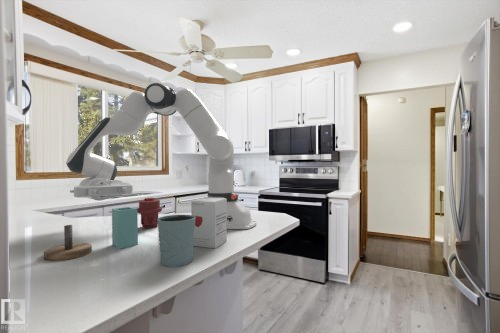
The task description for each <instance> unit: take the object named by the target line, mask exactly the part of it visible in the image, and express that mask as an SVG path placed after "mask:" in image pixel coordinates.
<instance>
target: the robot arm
mask: <svg viewBox="0 0 500 333" xmlns="http://www.w3.org/2000/svg"><path fill="white" fill-rule="evenodd" d="M176 112H177V113H179V115H180V116H181V117H182V119H183V120H184V122H186V124H187V126H188V127H189V128H190V129H191V131H192V133H193V134H194V136H195V137H196V138H197V139H198V141H199V143H200V145H201V146H202V147H203V148H204V150H205V152H206V153H207V155H208V156H209V159H208V160H209V163H208V164H209V165H208V174H207V176H208V178H207V179H208V180H207V181H208V182H207V183H208V192H207V198H226V199H227V230H248V229H253V228H254V227H255V226H257V220H255V219H253V218H252V214H251V211H250V209H249V208H248V207H247V206H246V205H244V204H243V203H241V201H239V193H236V192H235V191H234V189H235V188H234V183H235V182H234V169H235V168H234V165H235V164H234V158H235V157H234V154H235V153H234V145H233V142H232V140H231V139H230V138H229V135H227V133H226V132H225V130H224V129H222V127H221V126H220V124H219V122H218V121H217V120H216V118H215V117H214V115H212V113H211V112H210V110H209V109H208V108H207V106H206V105H205V104H204V102H203V101H202V100H201V99H200V97H198V96H197V93H196V92H194V91H192V89H189V88H183V89H180V90H179V91H177V92H176V91H175V89H174V88H172V87H169V86H167V85H166V84H162V83H160V82H153V83H150V84H148V85H147V86H146V88H145V89H144V92H141V91H133V92H131V93H130V94H129V95H128V96H127V98H125V100H124V102H123V103H122V104H121V106H120V107H119V109H118V111H116V113H115V114H113V115H112V116H110V117H104V118H103V119H101V120H100V121H99V122H98V124H97V125H96V126H95V127H94V128H93V129H92V130H91V131H90V133H88V135H87V136H86V137H85V138H84V139H83V140H82V141H81V143H80V144H79V145H78V146H77V147H76V148H75V149H74V150H73V151H72V152H71V153H70V154H69V155H68V157H67V159H66V161H65V164H66V166H67V168H68V170H69V171H70V172H71V173H75V174H79V175H84V176H87V177H86V178H84V179H82V180H81V181H80V183H79V184H78V186H73V189H70V190H69V192H70V193H71V194H73V197H75V198H88V199H91V200H94V201H104V200H107V199H111V198H115V197H121V196H123V195H133V193H134V185H133V184H132V183H128V182H123V180H120V179H119V180H116V176H117V174H118V166H117V164H116V162H115V161H114V160H111V159H109V158H107V157H104V156H101V155H99V154H95V153H93V152H92V150H93V148H94V147H95V146H96V145H97V144H98V142H99V141H100V140H101V139H102V138H103V137H105V136H107V135H108V136H109V135H118V136H131V135H134V134H136V133H138V132H139V131H140V130H141V128H143V125H144V123H145V121H146V120H147V118H148V116H150V114H151V113H153V114H156V115H161V116H166V117H167V116H172V115H174V114H175V113H176Z"/></svg>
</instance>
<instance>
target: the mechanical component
mask: <svg viewBox="0 0 500 333" xmlns="http://www.w3.org/2000/svg"><path fill="white" fill-rule="evenodd" d="M162 211H163V207H162V206H161V200H160V199H156V198H155V197H145V198H144V199H143V200H142V199H141V200H139V201H138V208H137V214H140V225H141V226H142V227H141V228H142V229H143V230H144V229H149V228H151V229H152V228H153V227H155V228H158V222H157V219H158V218H159V213H161V212H162Z"/></svg>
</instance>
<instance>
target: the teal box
mask: <svg viewBox="0 0 500 333" xmlns="http://www.w3.org/2000/svg"><path fill="white" fill-rule="evenodd" d="M137 209H138V208H136V207H132V206H125V207H117V208H112V209H111V234H112V236H111V237H112V238H111V239H112V243H111V244H112V246H113V247H116V248H117V249H122V248H123V249H124V248H128V247H133V246H137V245H139V238H138V236H139V234H138V233H139V232H138V230H139V229H138V227H139V226H138V225H139V224H138V223H139V221H138V219H139V218H138V213H137Z"/></svg>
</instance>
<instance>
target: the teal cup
mask: <svg viewBox="0 0 500 333" xmlns="http://www.w3.org/2000/svg"><path fill="white" fill-rule="evenodd" d="M157 222H158V227H157V230H158V231H157V232H158V242H159V252H160V254H159V256H160V257H159V258H160V263H161V265H162V266H163V267H168V268H176V267H183V266H187V265H189V264H191V263H192V262H193V259H194V247H195V246H194V228H195V216H192V214H171V215H163V216H159V217H158V219H157Z"/></svg>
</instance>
